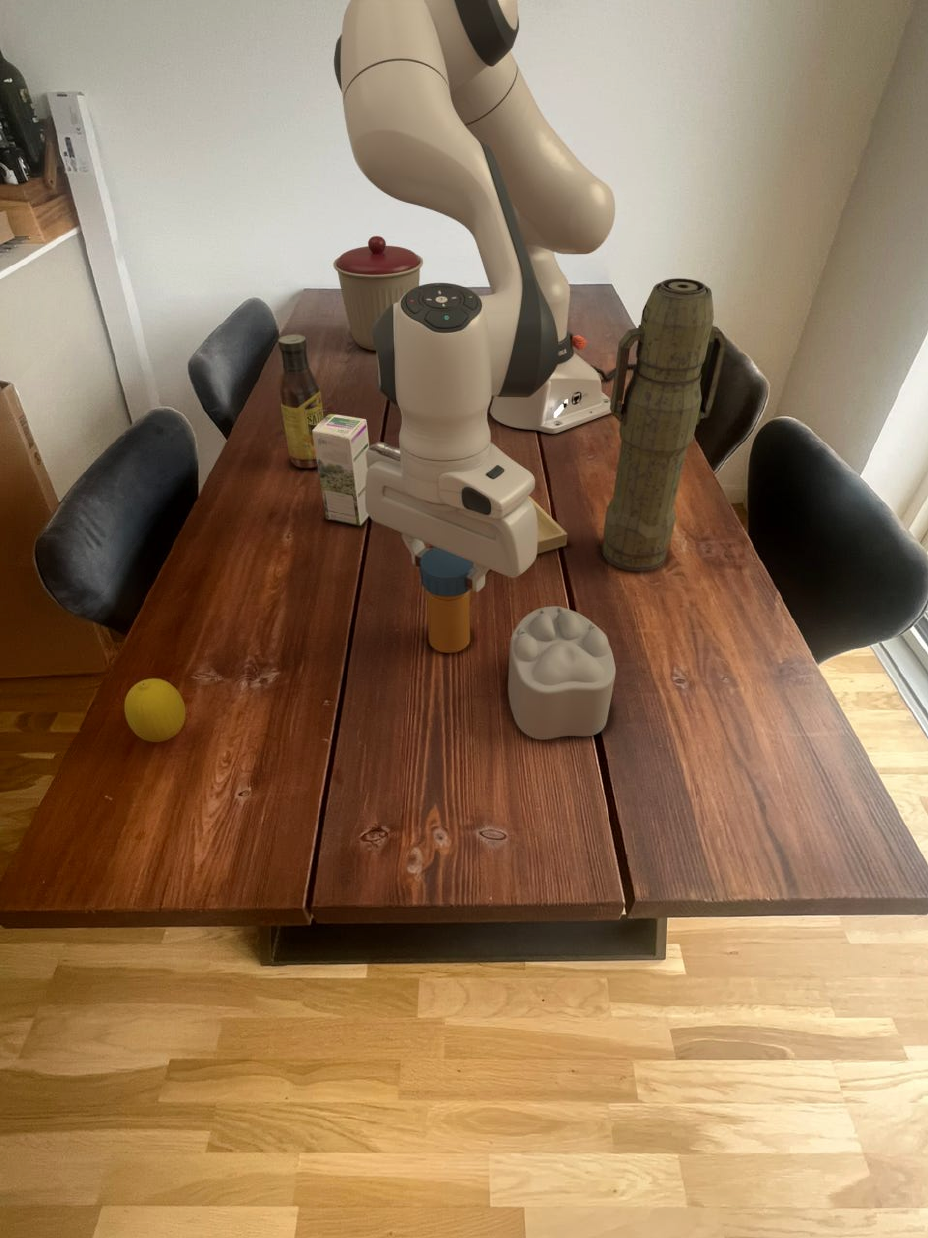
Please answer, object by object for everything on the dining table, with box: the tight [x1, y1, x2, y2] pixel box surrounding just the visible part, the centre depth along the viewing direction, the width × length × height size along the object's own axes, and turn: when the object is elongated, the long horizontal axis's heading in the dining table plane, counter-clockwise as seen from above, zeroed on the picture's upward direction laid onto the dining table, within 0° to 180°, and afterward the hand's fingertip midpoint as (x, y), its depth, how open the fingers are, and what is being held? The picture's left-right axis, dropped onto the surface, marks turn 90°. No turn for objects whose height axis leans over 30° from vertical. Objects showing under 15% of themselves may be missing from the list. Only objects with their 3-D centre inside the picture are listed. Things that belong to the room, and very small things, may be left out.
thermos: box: [602, 277, 728, 573], centre depth 89 cm, size 9×12×35 cm
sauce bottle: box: [277, 334, 325, 470], centre depth 114 cm, size 7×6×20 cm
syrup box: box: [312, 413, 370, 527], centre depth 103 cm, size 6×6×14 cm
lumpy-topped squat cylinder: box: [507, 605, 617, 741], centre depth 78 cm, size 10×13×9 cm
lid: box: [419, 546, 474, 597], centre depth 81 cm, size 6×6×3 cm
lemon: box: [123, 678, 187, 743], centre depth 74 cm, size 6×6×8 cm
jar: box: [425, 589, 471, 654], centre depth 84 cm, size 5×5×10 cm
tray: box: [528, 495, 568, 555], centre depth 103 cm, size 15×13×2 cm
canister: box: [332, 235, 424, 352], centre depth 152 cm, size 18×18×21 cm
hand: (448, 575), depth 81 cm, fingers closed on lid, 6 cm apart
